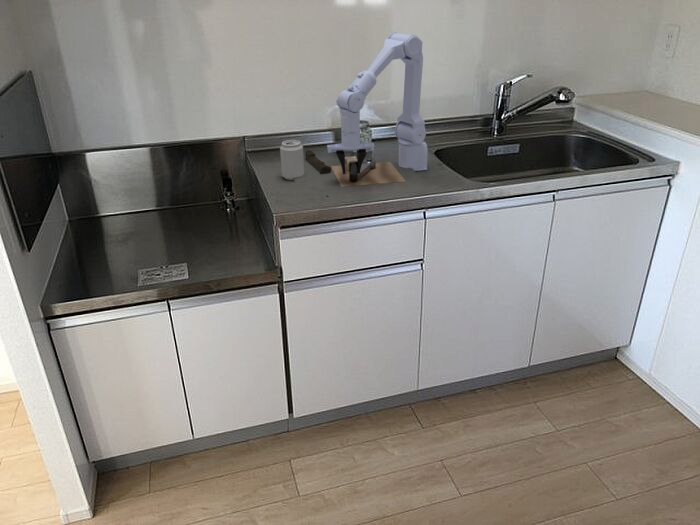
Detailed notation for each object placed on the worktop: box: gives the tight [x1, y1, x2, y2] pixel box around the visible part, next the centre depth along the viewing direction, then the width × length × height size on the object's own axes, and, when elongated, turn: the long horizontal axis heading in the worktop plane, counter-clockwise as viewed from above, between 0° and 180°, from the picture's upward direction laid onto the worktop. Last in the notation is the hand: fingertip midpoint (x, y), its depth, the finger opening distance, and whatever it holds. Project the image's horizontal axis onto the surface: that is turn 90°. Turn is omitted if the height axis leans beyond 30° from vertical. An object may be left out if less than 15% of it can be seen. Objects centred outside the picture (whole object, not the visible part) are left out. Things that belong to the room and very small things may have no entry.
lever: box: [349, 157, 377, 182], centre depth 190 cm, size 18×4×6 cm, turn 157°
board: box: [330, 155, 407, 188], centre depth 192 cm, size 21×20×4 cm
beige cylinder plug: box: [347, 157, 357, 171], centre depth 195 cm, size 4×4×3 cm
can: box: [279, 139, 305, 181], centre depth 191 cm, size 8×8×12 cm
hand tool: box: [304, 149, 332, 175], centre depth 200 cm, size 19×4×5 cm, turn 21°
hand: (351, 172), depth 185 cm, fingers open, 4 cm apart
